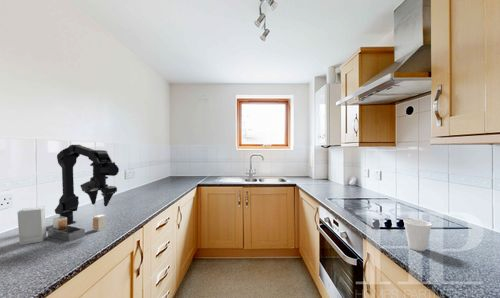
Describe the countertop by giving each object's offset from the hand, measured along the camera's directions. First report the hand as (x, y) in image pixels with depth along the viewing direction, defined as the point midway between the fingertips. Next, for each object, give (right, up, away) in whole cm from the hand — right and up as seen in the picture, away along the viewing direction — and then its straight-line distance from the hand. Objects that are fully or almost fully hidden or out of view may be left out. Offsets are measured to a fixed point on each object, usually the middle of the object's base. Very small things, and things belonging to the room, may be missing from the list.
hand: (99, 205), depth 127 cm
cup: (+147, -13, -24) cm, 149 cm away
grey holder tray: (-10, -12, -10) cm, 19 cm away
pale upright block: (0, -12, 0) cm, 12 cm away
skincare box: (-20, -13, -16) cm, 29 cm away
